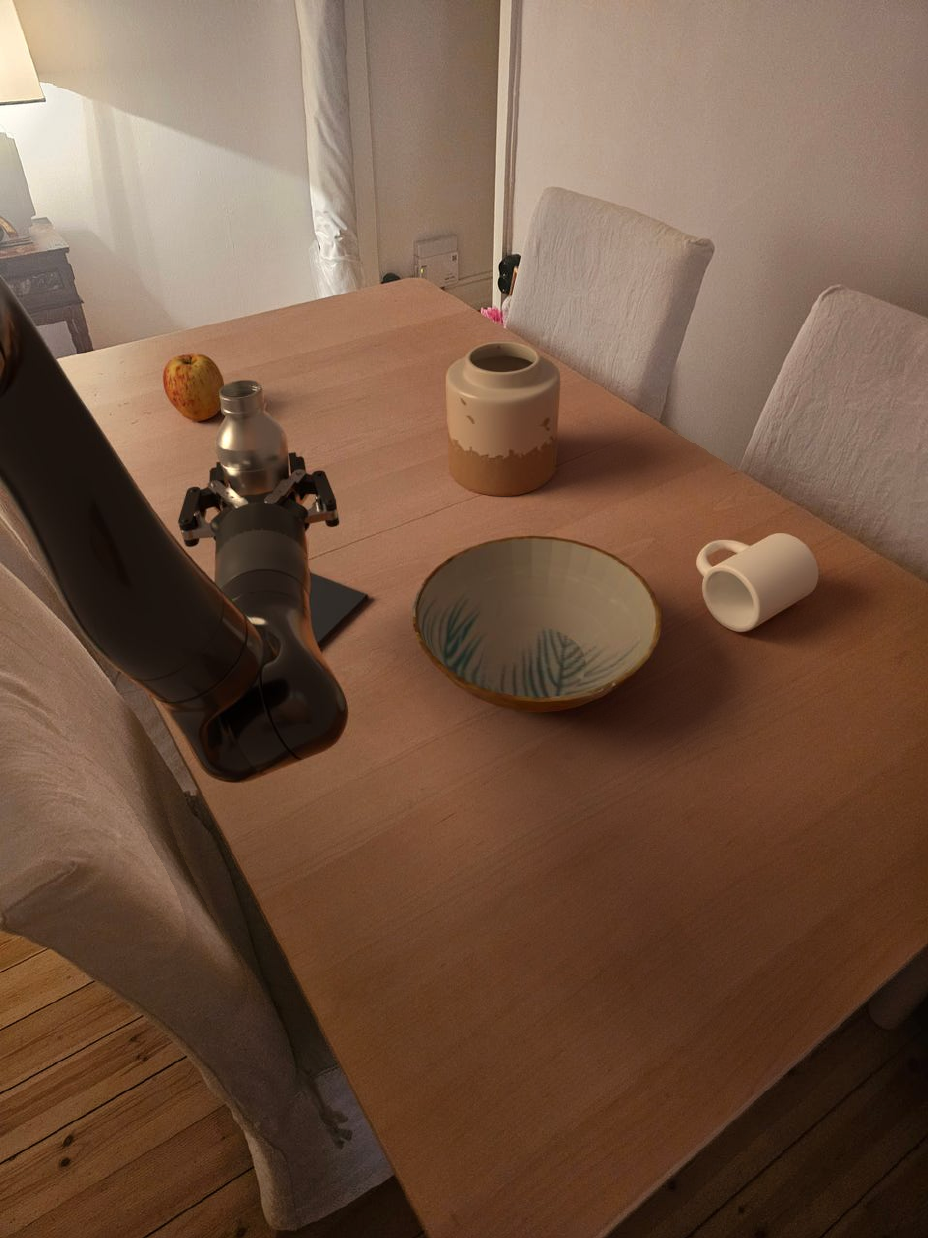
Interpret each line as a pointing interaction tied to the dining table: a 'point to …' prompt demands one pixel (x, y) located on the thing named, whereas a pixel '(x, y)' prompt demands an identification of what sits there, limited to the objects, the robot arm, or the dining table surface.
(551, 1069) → the dining table surface
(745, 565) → the mug
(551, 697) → the bowl
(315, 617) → the mat
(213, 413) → the apple
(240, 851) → the dining table surface
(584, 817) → the dining table surface
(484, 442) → the vase
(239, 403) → the silver metal bottle
